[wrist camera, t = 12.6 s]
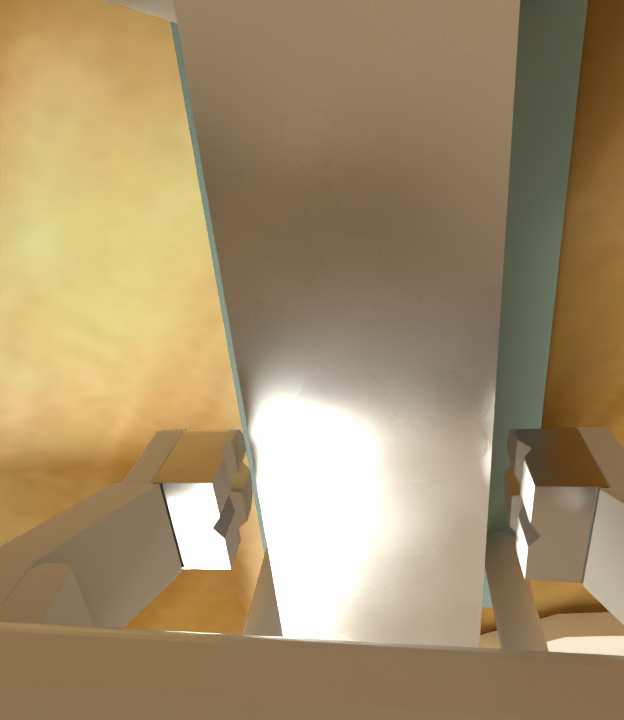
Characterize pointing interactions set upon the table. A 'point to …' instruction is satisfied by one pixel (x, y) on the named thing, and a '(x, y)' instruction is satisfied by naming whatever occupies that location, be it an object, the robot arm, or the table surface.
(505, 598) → the rack
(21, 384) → the table surface
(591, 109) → the table surface
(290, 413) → the long grey flat plank
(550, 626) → the dish
